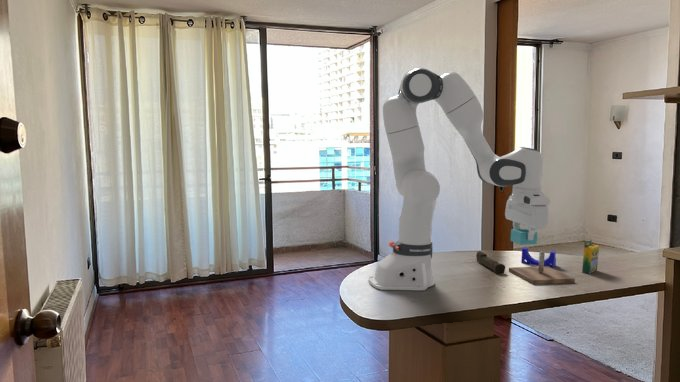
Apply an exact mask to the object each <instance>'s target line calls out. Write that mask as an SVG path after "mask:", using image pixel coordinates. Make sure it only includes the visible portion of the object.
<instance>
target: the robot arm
mask: <svg viewBox="0 0 680 382" xmlns="http://www.w3.org/2000/svg"><path fill="white" fill-rule="evenodd" d="M429 101H435V102H436V103H437V104H438V105H439V106H440V107H441V109H442V111H443V112H444V114H445V116H446V117H447V119H448V121H449V122H450V124H451V125H452V126H453V127H454V128H455V130H457V132H458V133H459V135H460V136H461V137H462V139H463V140H464V142H465V144H466V145H467V148H468V149H469V151H470V152H471V155H472V157H473V158H474V160H475V161H474V162H475V164H476V172H477V175H478V177H479V179H480V180H481V181H482V182H483V183H485V184H487V185H494V186H498V187H508V186H509V187H510V186H512V190H511V191H512V192H511V193H510V195H509V196H508V199H507V201H506V205H505V210H504V217H505V219H506V220H509V221H512V227H513V229H521V225H522V226H526V227H528V228H527V229H528V230H529V232H528V234H526V239H527V240H533V238H534V234H535V232H537V230H545V229H546V228H547V227H548V221H549V207H548V206H549V205H550V199H549V197H547V196H546V195H545V194H544V193H543V191H542V183H541V180H542V177H543V156H542V155H543V154H542V153H541V151H539V150H538V149H535V148H532V147H531V148H530V147H525V146H520V147H517V148H516V149H515V150H513V151H512V152H509V153H507V154H504V155H501V156H499V155H498V154H495V152H493V150H492V149H491V146H490V144H489V143H488V142H487V140H486V138H485V136H484V133H483V132H482V122H483V120H484V111H483V107H482V105H481V103H480V100H479V99H478V98H477V95H476V94H475V93H474V91H473V90H472V88H471V86H470V85H469V84H468V83H467V81H465V79H464V78H463V77H462V76H461V75H460V74H459V73H457V72H453V71H451V72H446V73H444V74H442V75H438V73H437V74H436V73H435V72H433V71H431V70H429V69H426V68H422V67H417V68H412V69H410V70H408V72H406V73H405V74H404V75H403V77H402V79H401V82H400V85H399V90H398V93H397V95H394V96H392V97H389V98H388V99H387V100H385V101H384V103H383V105H382V117H383V125H384V129H385V134H386V138H387V142H388V145H389V150H390V154H391V157H392V166H393V172H394V179H395V186H396V189H397V191H398V193H399V195H400V196H402V197H403V200H402V201H403V202H402V206H401V211H400V215H399V218H398V219H399V220H398V222H399V223H398V240H397V241H396V242H394V241H393V240H389V242H388V247H390V248H392V252H391V253H389V254H388V255H386V257H384V258H383V259H381V260H380V261H378V262H377V265H376V267H375V271H374V272H375V274H370V275H369V277H368V283H369V284H370V285H371V287H373V288H375V289H377V290H381V291H382V290H383V291H426V290H427V289H428V288H430V287H433V286H434V285H435V278H434V274H433V266H432V258H433V252H434V249H433V242H432V231H433V230H432V229H433V219H434V218H433V217H434V212H435V208H436V205H437V199H438V197H439V196H440V195H439V194H440V192H441V185H440V182H439V181H438V179H437V177H436V176H435V175H434V174H433V173H431V172H430V171H427V170H426V165H425V162H426V161H425V144H424V141H423V137H422V132H421V128H420V125H419V121H418V117H417V108H418V106H419V104H423V103H427V102H429Z"/></svg>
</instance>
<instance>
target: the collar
mask: <svg viewBox="0 0 680 382" xmlns="http://www.w3.org/2000/svg"><path fill="white" fill-rule="evenodd" d="M528 232H529V230H528V228H520V229H514V228H511V229H510V242H513V243H515V244H517V245H519V246H521V245H523V246H524V245H537V243H538V232H537V231H536V232H535V234H534V238H533V240H527V239H526V234H528Z"/></svg>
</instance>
